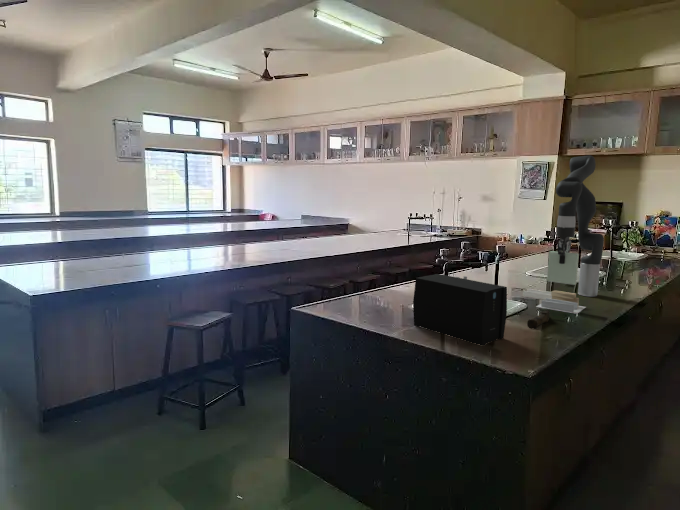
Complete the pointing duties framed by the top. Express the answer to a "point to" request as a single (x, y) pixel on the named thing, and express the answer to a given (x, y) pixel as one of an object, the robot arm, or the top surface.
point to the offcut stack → (564, 296)
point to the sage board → (562, 268)
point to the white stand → (537, 294)
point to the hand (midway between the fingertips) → (563, 263)
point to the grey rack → (561, 305)
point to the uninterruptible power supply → (460, 307)
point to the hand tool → (538, 319)
